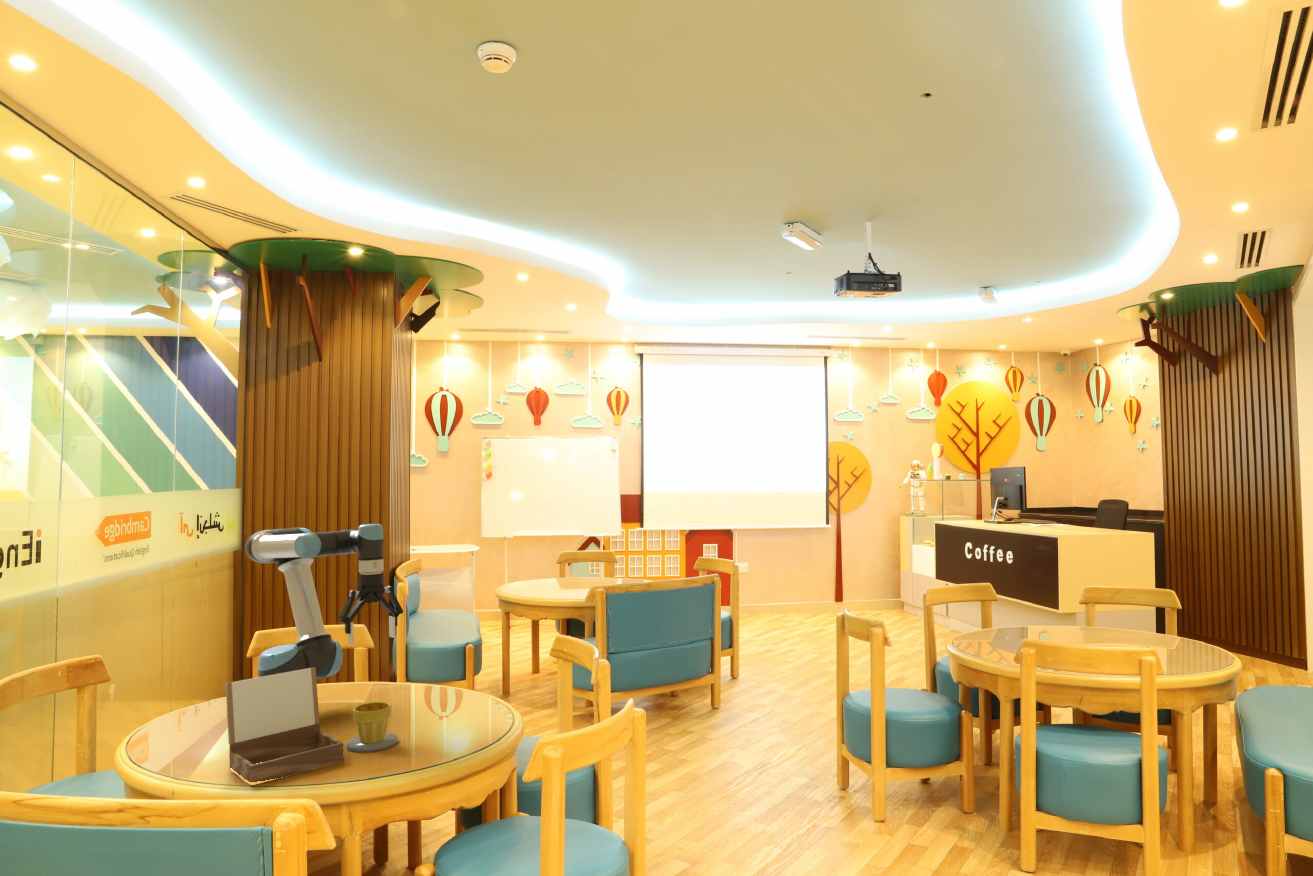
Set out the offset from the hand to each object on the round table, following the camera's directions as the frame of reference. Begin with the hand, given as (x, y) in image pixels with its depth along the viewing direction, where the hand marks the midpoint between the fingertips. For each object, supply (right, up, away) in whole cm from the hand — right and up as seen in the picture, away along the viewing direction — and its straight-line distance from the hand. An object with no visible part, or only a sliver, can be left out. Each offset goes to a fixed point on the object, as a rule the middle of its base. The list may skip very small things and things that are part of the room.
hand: (371, 640), depth 257 cm
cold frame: (-11, -25, -35) cm, 45 cm away
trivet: (+7, -26, -19) cm, 33 cm away
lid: (-18, -19, -28) cm, 38 cm away
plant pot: (+7, -25, -19) cm, 32 cm away
